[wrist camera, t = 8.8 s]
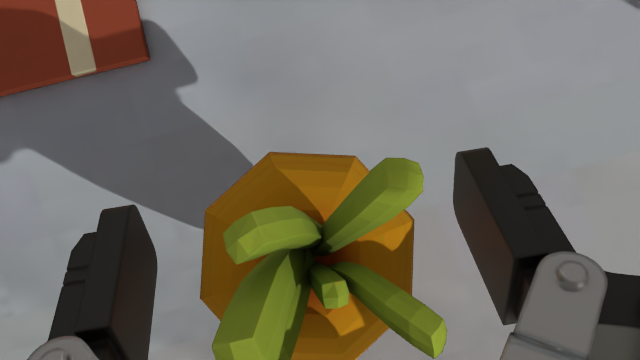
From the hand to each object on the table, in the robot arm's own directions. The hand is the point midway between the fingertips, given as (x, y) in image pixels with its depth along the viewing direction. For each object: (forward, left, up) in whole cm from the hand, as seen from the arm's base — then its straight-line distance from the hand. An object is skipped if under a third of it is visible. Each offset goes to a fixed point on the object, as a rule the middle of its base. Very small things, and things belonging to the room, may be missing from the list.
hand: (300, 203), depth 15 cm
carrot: (-1, +1, -8) cm, 9 cm away
